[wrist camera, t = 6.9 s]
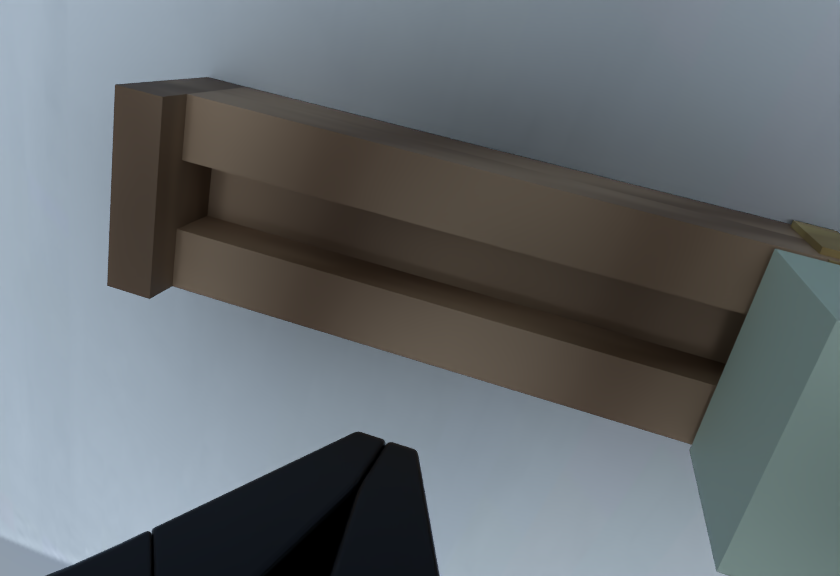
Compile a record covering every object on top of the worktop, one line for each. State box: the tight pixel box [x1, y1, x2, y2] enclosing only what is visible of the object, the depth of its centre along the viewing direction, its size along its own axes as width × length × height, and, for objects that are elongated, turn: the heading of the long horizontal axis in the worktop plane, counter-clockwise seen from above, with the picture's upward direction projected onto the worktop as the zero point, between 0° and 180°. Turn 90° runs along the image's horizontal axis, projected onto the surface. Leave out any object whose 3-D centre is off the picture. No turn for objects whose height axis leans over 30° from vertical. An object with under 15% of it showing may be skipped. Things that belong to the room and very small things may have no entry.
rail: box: [107, 77, 840, 444], centre depth 16 cm, size 26×5×4 cm, turn 78°
